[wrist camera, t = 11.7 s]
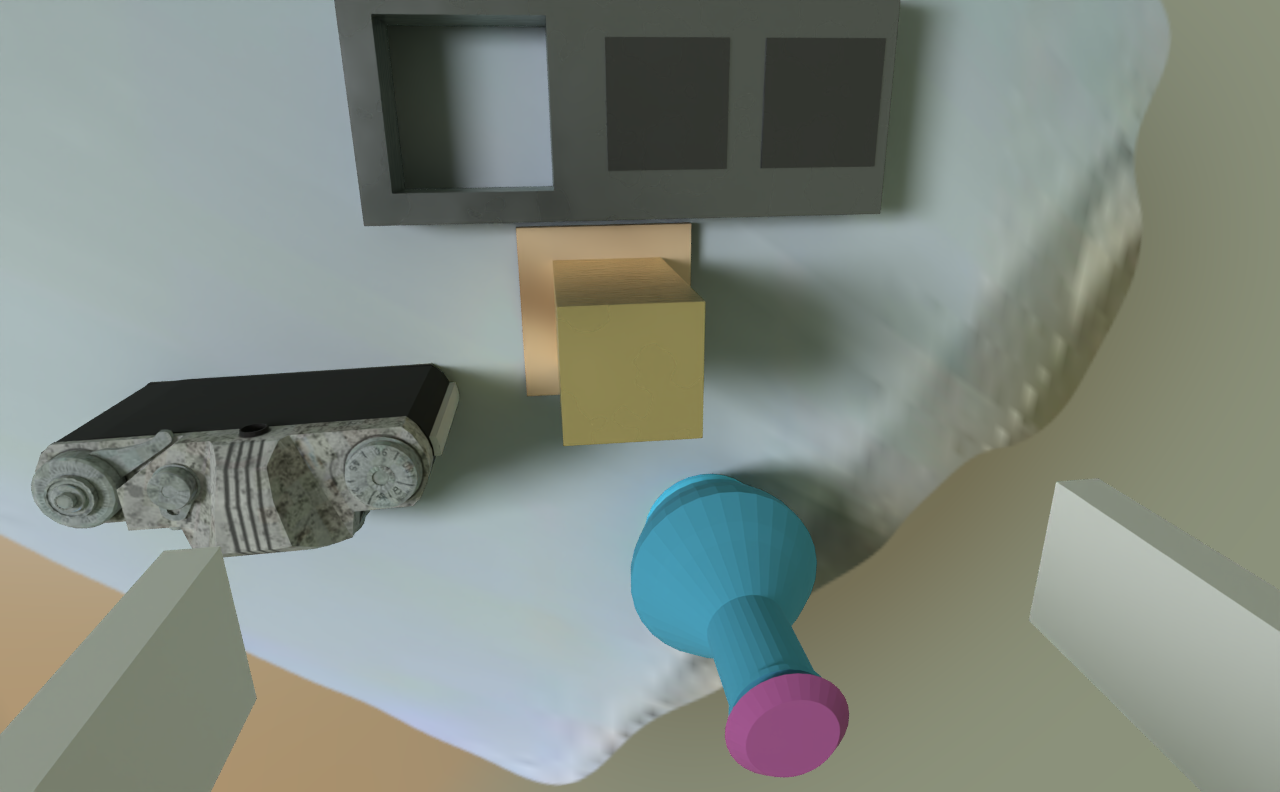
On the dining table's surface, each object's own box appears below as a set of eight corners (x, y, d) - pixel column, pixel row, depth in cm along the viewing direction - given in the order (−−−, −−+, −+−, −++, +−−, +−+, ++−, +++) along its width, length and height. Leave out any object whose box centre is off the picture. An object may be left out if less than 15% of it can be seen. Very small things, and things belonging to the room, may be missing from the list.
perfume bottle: (630, 613, 41) (676, 858, 27) (611, 465, 38) (652, 655, 24) (789, 587, 42) (913, 812, 28) (783, 440, 39) (921, 609, 25)
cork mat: (516, 226, 34) (516, 228, 33) (688, 222, 34) (691, 223, 34) (527, 392, 36) (527, 396, 36) (687, 384, 37) (689, 387, 37)
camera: (163, 509, 36) (29, 639, 27) (126, 377, 34) (-34, 469, 24) (470, 482, 38) (447, 597, 28) (455, 355, 35) (424, 434, 26)
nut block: (552, 260, 34) (556, 306, 24) (660, 257, 34) (705, 301, 25) (557, 364, 35) (563, 446, 26) (660, 359, 36) (702, 437, 27)
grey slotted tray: (350, -10, 30) (330, -25, 27) (870, -4, 32) (903, -18, 29) (379, 218, 33) (363, 226, 30) (852, 207, 35) (880, 213, 32)
